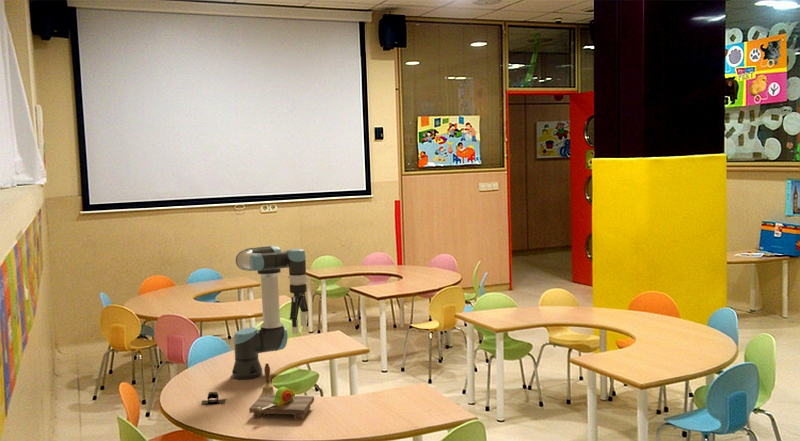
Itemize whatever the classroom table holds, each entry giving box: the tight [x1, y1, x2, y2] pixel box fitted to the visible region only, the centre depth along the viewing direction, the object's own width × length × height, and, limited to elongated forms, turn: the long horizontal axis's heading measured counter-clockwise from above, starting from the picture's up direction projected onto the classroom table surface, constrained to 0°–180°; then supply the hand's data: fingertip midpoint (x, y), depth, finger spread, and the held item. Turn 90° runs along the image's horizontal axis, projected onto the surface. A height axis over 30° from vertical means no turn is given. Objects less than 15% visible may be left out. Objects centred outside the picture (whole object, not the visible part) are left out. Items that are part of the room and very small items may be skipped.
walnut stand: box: [249, 394, 315, 421], centre depth 310 cm, size 16×24×5 cm, turn 82°
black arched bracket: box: [200, 391, 227, 406], centre depth 326 cm, size 13×8×5 cm, turn 97°
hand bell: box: [258, 363, 276, 398], centre depth 330 cm, size 8×8×16 cm
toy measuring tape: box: [257, 386, 296, 411], centre depth 307 cm, size 6×20×7 cm, turn 136°
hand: (299, 329), depth 323 cm, fingers open, 13 cm apart
